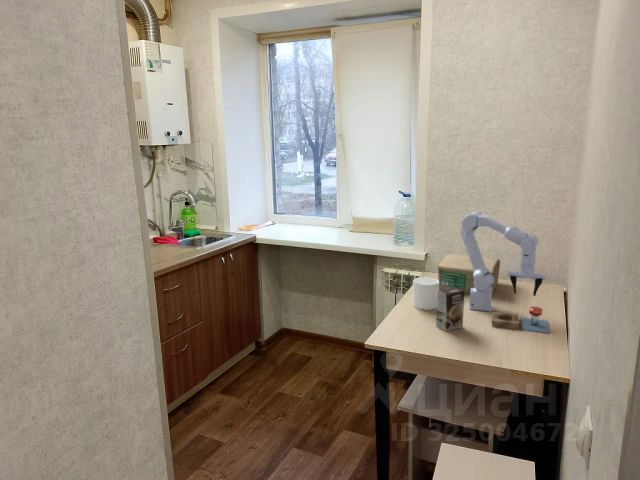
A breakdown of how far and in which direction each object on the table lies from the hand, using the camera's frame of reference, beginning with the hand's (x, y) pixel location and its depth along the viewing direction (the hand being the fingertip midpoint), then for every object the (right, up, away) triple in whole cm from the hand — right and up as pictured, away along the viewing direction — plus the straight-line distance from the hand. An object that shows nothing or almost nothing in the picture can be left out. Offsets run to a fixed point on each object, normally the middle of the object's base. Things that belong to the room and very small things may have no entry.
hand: (524, 294), depth 198 cm
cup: (-39, -7, +18) cm, 43 cm away
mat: (+1, -12, -7) cm, 14 cm away
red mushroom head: (+1, -12, -7) cm, 14 cm away
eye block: (-10, -12, -4) cm, 16 cm away
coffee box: (-34, -13, -6) cm, 37 cm away
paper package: (-11, -1, +41) cm, 43 cm away
